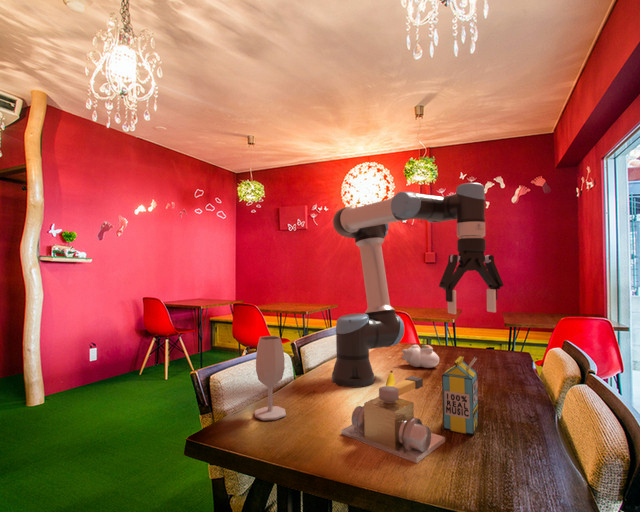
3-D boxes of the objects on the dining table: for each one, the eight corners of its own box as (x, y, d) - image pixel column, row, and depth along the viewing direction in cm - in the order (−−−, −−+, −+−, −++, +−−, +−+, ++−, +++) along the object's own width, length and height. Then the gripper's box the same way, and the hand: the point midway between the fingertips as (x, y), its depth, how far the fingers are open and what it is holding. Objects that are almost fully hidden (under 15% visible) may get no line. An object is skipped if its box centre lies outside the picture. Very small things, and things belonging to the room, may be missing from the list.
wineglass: (259, 424, 95) (259, 341, 96) (250, 412, 103) (250, 336, 104) (291, 417, 99) (290, 338, 100) (279, 407, 107) (279, 334, 108)
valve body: (341, 434, 89) (340, 393, 89) (372, 418, 98) (372, 381, 98) (416, 463, 75) (415, 414, 75) (445, 441, 84) (444, 398, 85)
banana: (378, 410, 104) (378, 387, 104) (387, 389, 122) (387, 370, 122) (389, 411, 103) (388, 388, 103) (396, 390, 121) (396, 370, 121)
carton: (477, 437, 86) (475, 359, 87) (443, 430, 90) (441, 355, 91) (482, 426, 92) (480, 353, 93) (450, 419, 97) (448, 350, 97)
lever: (391, 402, 81) (391, 393, 81) (375, 398, 84) (375, 389, 84) (425, 386, 92) (424, 378, 92) (409, 383, 95) (409, 375, 95)
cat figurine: (440, 344, 150) (403, 338, 154) (440, 358, 143) (401, 351, 147) (438, 361, 154) (402, 355, 159) (438, 375, 148) (399, 368, 152)
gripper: (442, 235, 98) (443, 316, 97) (516, 238, 106) (517, 312, 105) (425, 238, 105) (426, 312, 104) (496, 240, 113) (497, 309, 112)
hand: (472, 312), depth 105 cm, fingers open, 13 cm apart
